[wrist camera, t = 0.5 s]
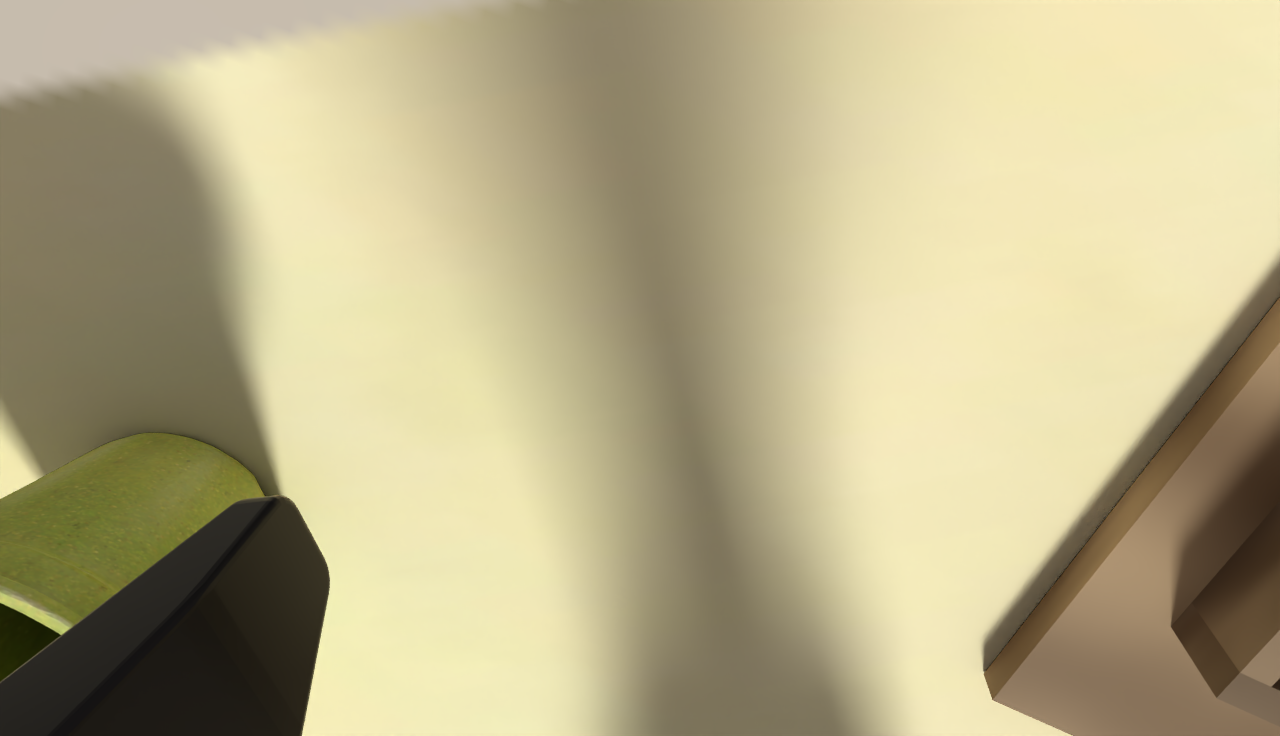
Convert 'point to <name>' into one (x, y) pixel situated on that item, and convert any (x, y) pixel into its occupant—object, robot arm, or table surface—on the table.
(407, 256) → the table surface
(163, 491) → the plant pot
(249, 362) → the table surface
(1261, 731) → the socket board
